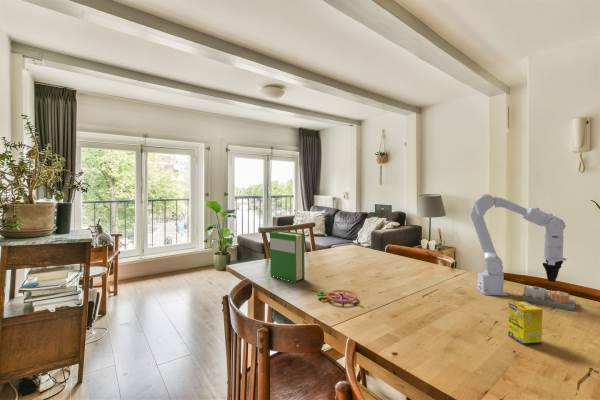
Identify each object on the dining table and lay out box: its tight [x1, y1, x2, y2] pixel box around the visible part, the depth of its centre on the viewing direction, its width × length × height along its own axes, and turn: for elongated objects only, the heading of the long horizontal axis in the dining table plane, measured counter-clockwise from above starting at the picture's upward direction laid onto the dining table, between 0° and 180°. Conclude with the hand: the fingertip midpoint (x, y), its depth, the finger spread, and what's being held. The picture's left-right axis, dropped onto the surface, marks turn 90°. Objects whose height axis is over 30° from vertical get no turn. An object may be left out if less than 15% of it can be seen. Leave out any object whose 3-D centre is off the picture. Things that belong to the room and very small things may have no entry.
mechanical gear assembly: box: [308, 287, 365, 308], centre depth 126 cm, size 30×4×15 cm
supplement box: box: [507, 301, 544, 346], centre depth 90 cm, size 6×6×11 cm
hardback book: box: [269, 230, 306, 283], centre depth 154 cm, size 18×7×24 cm, turn 50°
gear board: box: [521, 285, 577, 312], centre depth 119 cm, size 16×10×5 cm, turn 45°
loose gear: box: [549, 290, 570, 303], centre depth 117 cm, size 6×6×3 cm
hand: (552, 279), depth 119 cm, fingers open, 7 cm apart
